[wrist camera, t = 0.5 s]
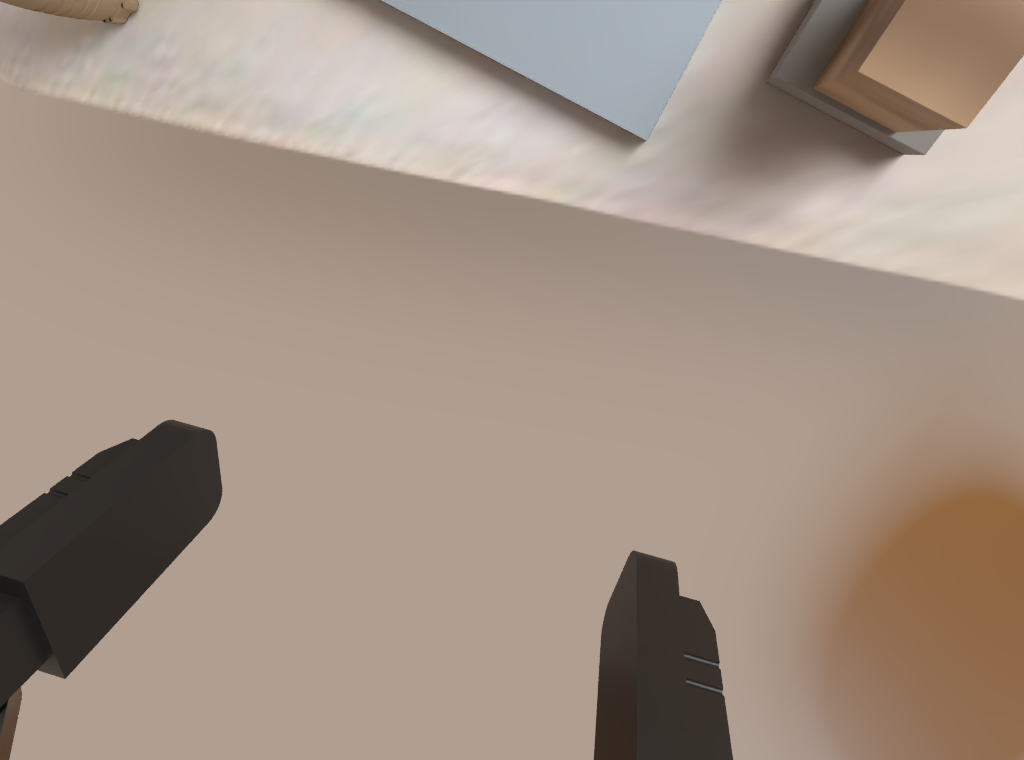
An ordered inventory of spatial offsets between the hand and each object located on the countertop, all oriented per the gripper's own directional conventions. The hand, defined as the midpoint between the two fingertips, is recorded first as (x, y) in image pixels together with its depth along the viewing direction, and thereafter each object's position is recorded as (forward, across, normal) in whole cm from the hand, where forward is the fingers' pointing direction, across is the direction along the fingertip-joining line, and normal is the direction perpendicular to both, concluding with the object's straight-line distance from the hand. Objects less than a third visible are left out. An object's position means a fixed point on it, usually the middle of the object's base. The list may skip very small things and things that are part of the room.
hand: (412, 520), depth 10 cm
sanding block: (+27, -13, -10) cm, 32 cm away
